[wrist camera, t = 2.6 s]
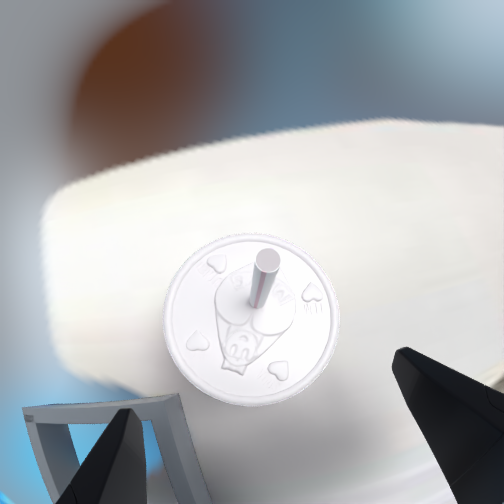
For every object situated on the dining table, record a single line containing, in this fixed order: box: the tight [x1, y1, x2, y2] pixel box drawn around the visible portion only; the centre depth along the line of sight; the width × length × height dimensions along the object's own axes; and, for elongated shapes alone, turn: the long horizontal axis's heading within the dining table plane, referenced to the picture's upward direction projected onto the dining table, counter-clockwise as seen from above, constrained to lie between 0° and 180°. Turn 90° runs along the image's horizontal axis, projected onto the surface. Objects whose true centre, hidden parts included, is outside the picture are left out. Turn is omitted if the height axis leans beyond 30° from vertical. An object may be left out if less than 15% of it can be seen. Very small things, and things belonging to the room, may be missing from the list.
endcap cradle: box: [22, 393, 213, 504], centre depth 13 cm, size 11×10×4 cm
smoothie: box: [163, 233, 340, 406], centre depth 13 cm, size 6×6×14 cm
